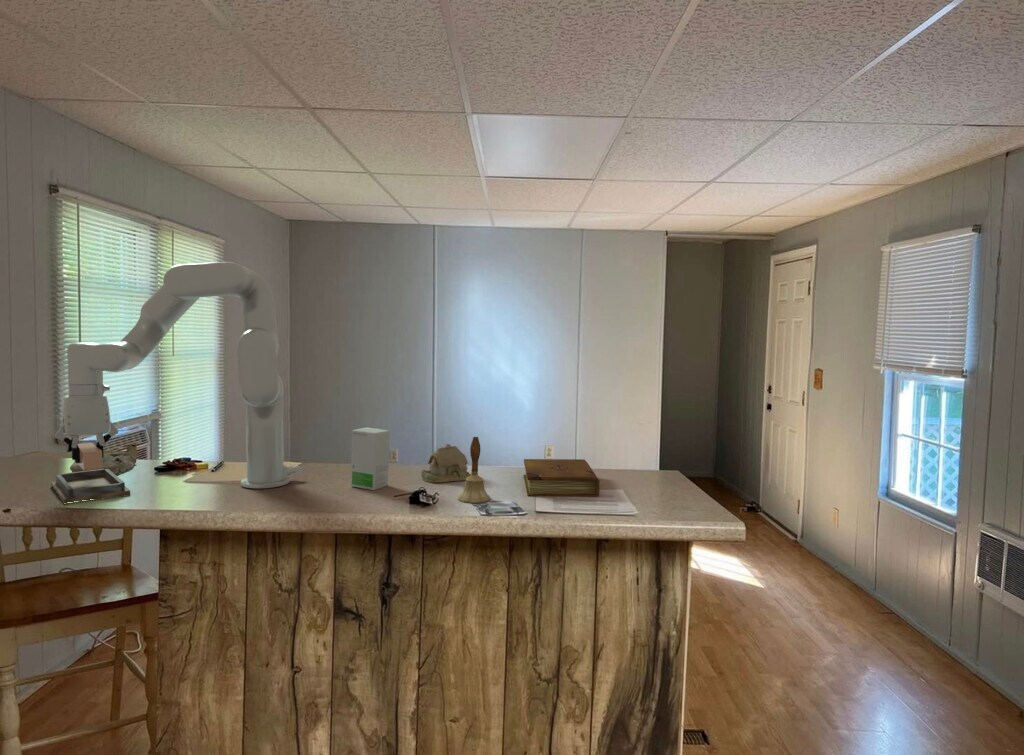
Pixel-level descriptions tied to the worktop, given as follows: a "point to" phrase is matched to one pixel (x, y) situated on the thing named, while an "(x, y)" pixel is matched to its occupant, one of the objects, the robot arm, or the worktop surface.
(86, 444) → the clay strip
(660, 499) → the worktop surface
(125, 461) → the clay tablet
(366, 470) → the skincare box
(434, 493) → the worktop surface
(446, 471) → the ceramic model
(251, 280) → the robot arm
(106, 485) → the gray rectangular frame
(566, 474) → the diary
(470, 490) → the hand bell
